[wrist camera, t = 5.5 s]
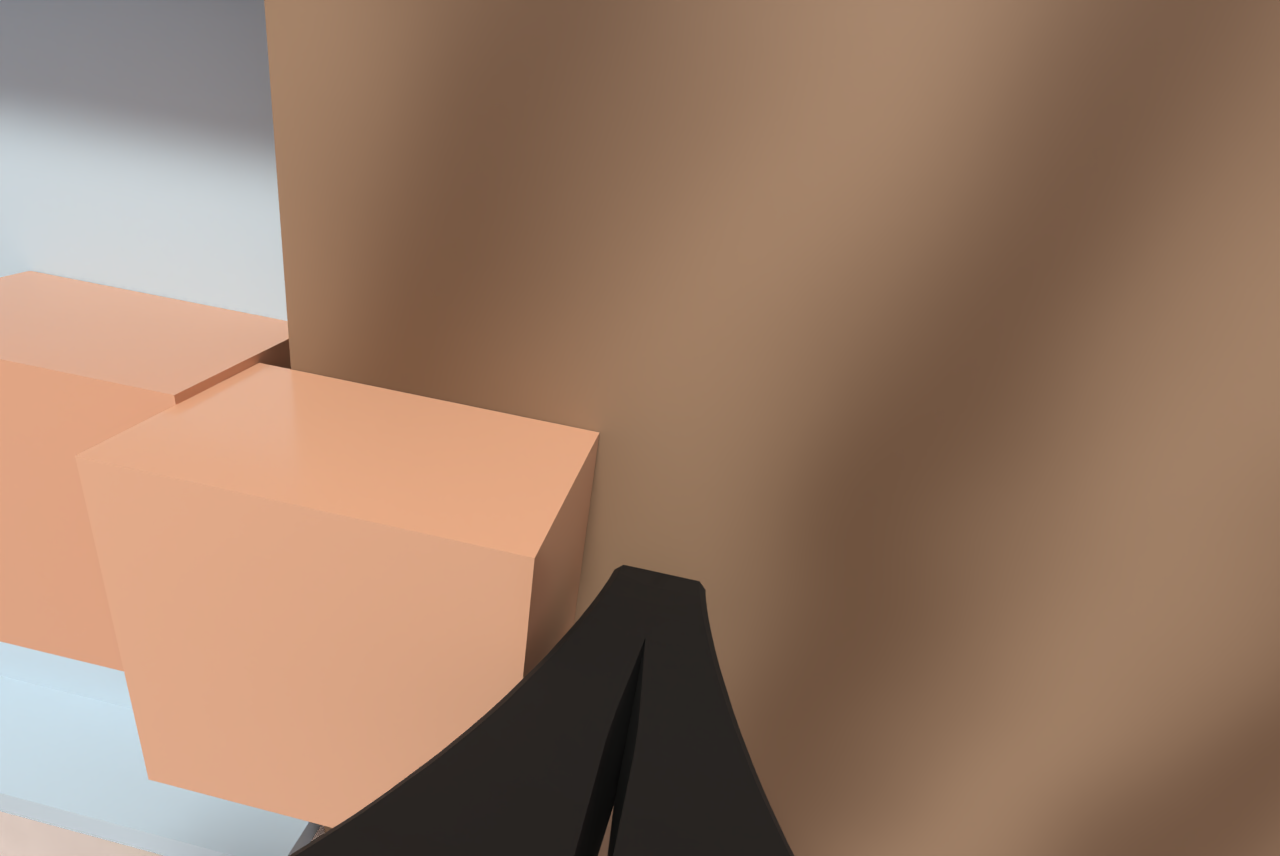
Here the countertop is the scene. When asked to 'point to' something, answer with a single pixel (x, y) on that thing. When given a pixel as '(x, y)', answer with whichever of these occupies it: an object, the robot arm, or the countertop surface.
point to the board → (859, 366)
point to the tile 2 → (329, 579)
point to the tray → (149, 263)
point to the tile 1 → (90, 431)
